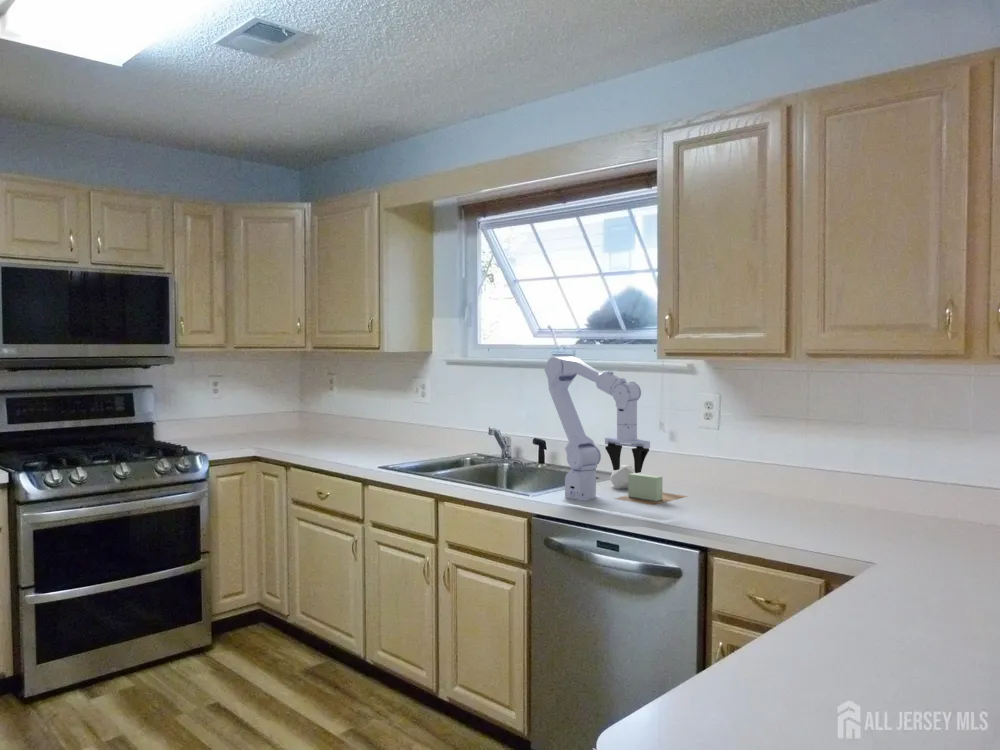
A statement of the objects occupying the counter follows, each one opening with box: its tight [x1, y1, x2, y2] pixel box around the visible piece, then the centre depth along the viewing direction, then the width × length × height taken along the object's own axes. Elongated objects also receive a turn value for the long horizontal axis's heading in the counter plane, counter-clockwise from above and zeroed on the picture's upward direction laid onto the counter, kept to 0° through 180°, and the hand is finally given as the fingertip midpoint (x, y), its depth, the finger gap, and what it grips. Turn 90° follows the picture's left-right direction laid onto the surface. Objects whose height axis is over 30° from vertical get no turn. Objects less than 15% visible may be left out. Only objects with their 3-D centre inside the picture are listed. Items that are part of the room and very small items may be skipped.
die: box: [609, 464, 635, 490], centre depth 248 cm, size 8×9×10 cm
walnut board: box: [614, 491, 688, 506], centre depth 231 cm, size 18×14×1 cm
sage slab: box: [627, 473, 663, 502], centre depth 229 cm, size 3×10×7 cm, turn 44°
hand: (627, 471), depth 222 cm, fingers open, 7 cm apart
